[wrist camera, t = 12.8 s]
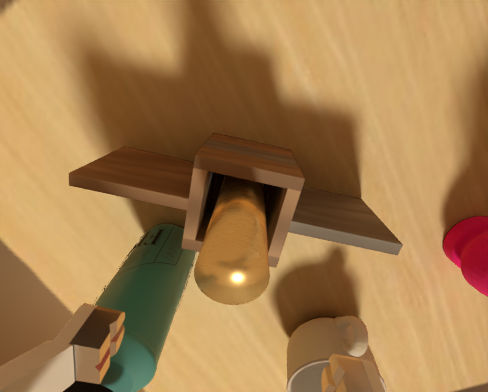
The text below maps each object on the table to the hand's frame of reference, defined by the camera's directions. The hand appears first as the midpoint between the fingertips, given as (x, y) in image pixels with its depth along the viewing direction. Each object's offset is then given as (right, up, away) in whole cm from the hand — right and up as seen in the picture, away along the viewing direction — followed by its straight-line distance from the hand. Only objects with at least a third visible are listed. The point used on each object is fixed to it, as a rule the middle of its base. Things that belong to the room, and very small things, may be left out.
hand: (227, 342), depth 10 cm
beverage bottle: (-8, 0, +22) cm, 24 cm away
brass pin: (+1, +8, +19) cm, 20 cm away
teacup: (+12, -12, +27) cm, 32 cm away
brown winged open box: (+1, +8, +19) cm, 20 cm away
